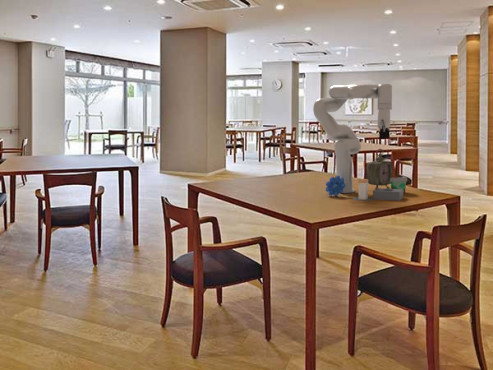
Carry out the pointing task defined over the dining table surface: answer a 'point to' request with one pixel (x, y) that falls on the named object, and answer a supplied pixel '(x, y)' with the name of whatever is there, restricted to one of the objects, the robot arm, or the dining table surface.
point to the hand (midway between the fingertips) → (384, 138)
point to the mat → (362, 199)
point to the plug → (363, 189)
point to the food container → (399, 183)
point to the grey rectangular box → (388, 194)
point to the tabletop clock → (379, 171)
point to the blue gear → (335, 186)
